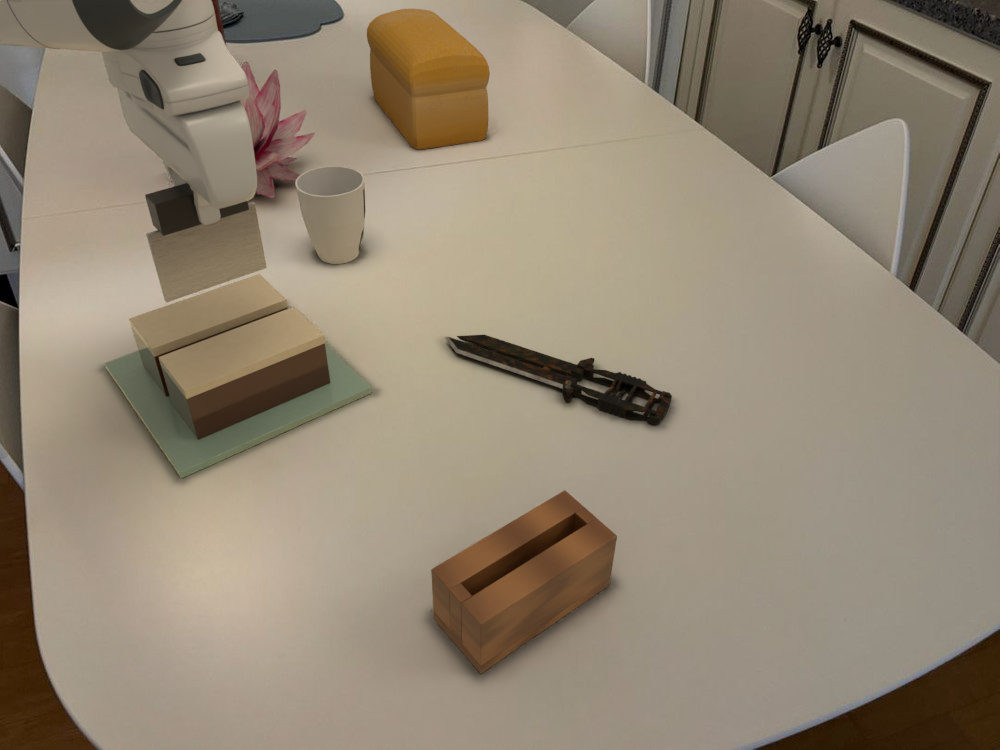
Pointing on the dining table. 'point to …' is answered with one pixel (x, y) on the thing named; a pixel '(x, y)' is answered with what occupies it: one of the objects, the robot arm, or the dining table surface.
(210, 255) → the metal bench scraper
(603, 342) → the dining table surface
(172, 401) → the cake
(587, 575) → the knife block
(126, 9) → the robot arm
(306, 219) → the cup
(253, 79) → the decorative flower
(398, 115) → the bread
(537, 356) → the knife
